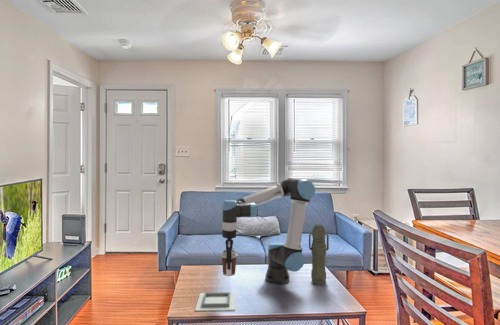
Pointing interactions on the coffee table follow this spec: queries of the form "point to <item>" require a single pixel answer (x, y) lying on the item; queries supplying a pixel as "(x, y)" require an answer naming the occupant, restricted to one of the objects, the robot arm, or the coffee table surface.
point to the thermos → (318, 254)
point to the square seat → (216, 302)
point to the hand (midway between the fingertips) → (228, 271)
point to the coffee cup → (233, 259)
